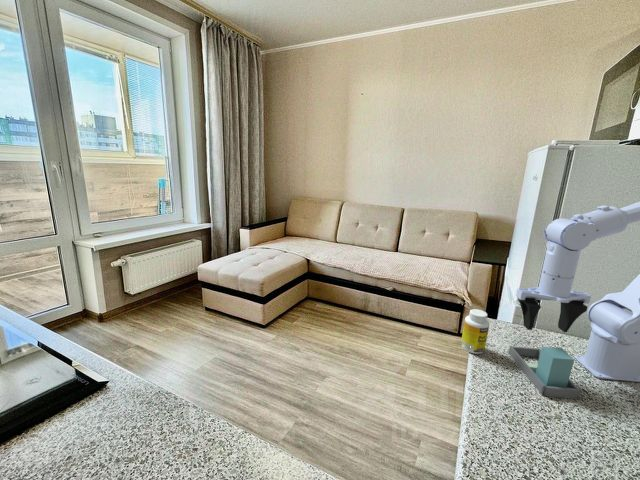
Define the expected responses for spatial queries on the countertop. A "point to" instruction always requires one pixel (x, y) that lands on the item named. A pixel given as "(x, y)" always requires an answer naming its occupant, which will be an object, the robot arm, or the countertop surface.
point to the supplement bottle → (475, 331)
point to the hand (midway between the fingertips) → (544, 328)
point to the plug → (554, 367)
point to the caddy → (530, 371)
